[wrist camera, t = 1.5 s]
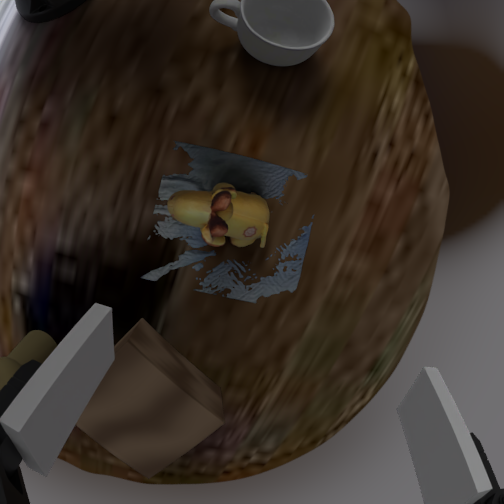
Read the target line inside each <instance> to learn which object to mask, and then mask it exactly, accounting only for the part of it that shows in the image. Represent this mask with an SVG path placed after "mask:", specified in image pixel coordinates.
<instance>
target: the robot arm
mask: <svg viewBox="0 0 504 504" xmlns="http://www.w3.org/2000/svg"><path fill="white" fill-rule="evenodd" d="M84 1H85V0H15V2H16V7H17V10H18V12H19V13H20V14H21V15H22V17H23V18H24V19H25V20H27V21H29V22H35V23H38V22H45V21H49V20H52V19H55V18H58V17H60V16H62V15H64V14H66V13H68V12H70V11H71V10H73V9H75V8H76V7H78V6H79V5H80V4H82V3H83V2H84ZM114 359H115V355H114V341H113V324H112V308H110V307H107V306H104V305H101V304H97V303H95V304H94V305H93V306H92V307H91V308H90V309H89V311H88V312H87V313H86V314H85V315H84V316H83V317H82V318H81V319H80V321H79V322H78V323H77V324H76V325H75V326H74V327H73V329H72V330H71V331H70V332H69V333H68V334H67V335H66V337H65V338H64V339H63V340H62V341H61V342H60V344H59V345H58V346H57V347H56V348H55V349H54V351H53V352H52V353H51V354H50V355H49V357H48V358H47V359H46V360H45V361H44V363H43V364H42V363H40V362H38V361H36V360H33V359H32V360H31V361H29V362H27V363H25V364H23V365H22V366H21V367H20V368H19V369H18V370H17V371H16V372H15V374H14V375H13V377H11V378H10V380H9V381H8V382H7V385H5V386H4V387H3V388H2V389H1V390H0V504H30V502H29V499H28V495H27V492H26V488H25V484H24V481H23V477H22V473H21V469H20V467H19V464H20V463H21V461H22V459H23V460H24V462H25V463H26V465H27V466H28V467H29V468H31V469H33V470H34V471H36V472H38V473H40V474H41V475H43V476H45V477H47V475H48V473H49V471H50V469H51V468H52V466H53V464H54V462H55V460H56V458H57V456H58V455H59V453H60V451H61V449H62V447H63V446H64V444H65V442H66V440H67V438H68V437H69V435H70V433H71V431H72V430H73V428H74V426H75V424H76V423H77V421H78V419H79V417H80V416H81V414H82V412H83V411H84V409H85V407H86V405H87V404H88V402H89V400H90V399H91V397H92V395H93V394H94V392H95V390H96V389H97V387H98V385H99V384H100V382H101V380H102V379H103V377H104V376H105V374H106V372H107V371H108V369H109V367H110V366H111V364H112V363H113V361H114ZM397 412H398V415H399V418H400V421H401V424H402V427H403V431H404V434H405V437H406V440H407V444H408V447H409V450H410V454H411V457H412V461H413V464H414V467H415V471H416V475H417V478H418V482H419V486H420V489H421V493H422V497H423V501H424V504H504V489H500V487H499V485H498V483H497V480H496V477H495V475H494V473H493V470H492V468H491V465H490V463H489V461H487V456H486V454H485V453H484V449H483V447H482V445H481V443H480V441H479V440H478V439H477V437H476V436H475V435H474V434H473V433H469V431H468V429H467V427H466V424H465V422H464V420H463V418H462V416H461V414H460V412H459V410H458V408H457V406H456V404H455V402H454V400H453V398H452V396H451V394H450V392H449V390H448V388H447V386H446V384H445V382H444V380H443V378H442V376H441V375H440V373H439V371H438V369H437V368H433V367H423V369H422V371H421V372H420V374H419V376H418V377H417V379H416V380H415V382H414V384H413V385H412V387H411V388H410V390H409V391H408V393H407V394H406V396H405V397H404V399H403V400H402V402H401V403H400V405H399V406H398V408H397Z"/></svg>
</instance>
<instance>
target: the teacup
mask: <svg viewBox="0 0 504 504" xmlns="http://www.w3.org/2000/svg"><path fill="white" fill-rule="evenodd" d="M220 8H228V9H231V10H233V11H234V12H235V14H236V16H237V17H238V19H236V18H234V17H231V16H228V15H226V14H224V13H223V12H221V11H220V10H219V9H220ZM209 12H210V15H211V17H212V18H213V19H214V20H216V21H217V22H219V23H221V24H224V25H226V26H229V27H231V28H232V29H233V30H235V31H238V36H239V40H240V42H241V44H242V46H243V47H244V49H245V50H246V51H247V52H248V53H249V54H250V55H252V56H253V57H254V58H256V59H257V60H259V61H261V62H264V63H266V64H270V65H274V66H291V65H295V64H299V63H301V62H303V61H305V60H306V59H308V58H309V57H311V56H312V55H313V54H314V53H315V52H316V51H317V50H318V48H319V47H320V46H321V45H322V44H323V43H324V42H325V41H326V40H327V39H328V38H329V37H330V35H331V34H332V31H333V28H334V16H333V12H332V10H331V8H330V6H329V4H328V3H327V2H326V0H241V2H239V1H237V0H214V1H213V2H212V4H211V5H210V10H209Z"/></svg>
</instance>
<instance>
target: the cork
mask: <svg viewBox="0 0 504 504" xmlns="http://www.w3.org/2000/svg"><path fill="white" fill-rule="evenodd" d="M56 347H57V344H56V342H55V341H54V340H53V339H52V337H51V336H49V335H48V334H47V333H45V332H43V331H40V330H33V331H31V332H29V333H28V334H27V335H26V336H25V337H24V339H23V340H22V341H21V342H20V343H19V344H18V345H17V346H16V347H15V348H14V349H13V351H12V352H11V353H10V354H9V355H8V356H7V357H0V390H1V389H2V388H3V387H4V386H5V385H7V382H8V381H9V380H10V378H11V377H13V375H14V374H15V372H16V371H17V370H18V369H19V368H20V367H21V366H22V365H23V364H25V363H27V362H29V361H31V360H32V359H33V360H36V361H38V362H40V363H42V364H43V363H44V361H45V360H46V359H47V358H48V357H49V355H50V354H51V353H52V352H53V351H54V349H55V348H56Z"/></svg>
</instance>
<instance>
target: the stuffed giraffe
mask: <svg viewBox="0 0 504 504" xmlns="http://www.w3.org/2000/svg"><path fill="white" fill-rule="evenodd" d="M174 142H175V144H176V147H175V148H173V149H174V150H177V149H178V148H179V146H181V147H182V148H183V149H184V151H186V152H188V154H189V156H190V158H194V160H193V161H192V162H191V163H189V164H188V165H189V166H190V167H192V168H193V170H192V171H191V172H189V175H186V174H179V175H177V174H173V175H169V176H165V175H163V177H162V180H161V185H160V189H159V197H161V198H163V199H161V198H160V199H161V200H162V201H163V200H168V203H167V205H165V206H164V207H163V206H162V205H155V209H154V213H153V215H154V214H156V213H160V214H161V215H162V214H166V215H168V216H170V215H172V216H173V217H174V218H175V219H176V221H174V220H172V217H169V218H167V217H165V218H166V219H165V222H164V221H163V222H162V221H158V224H159V226H160V228H161V229H160V228H159V227H158V226H157V225H155V227H156V229H157V230H158V232H159V233H158V234H161V236H163V237H164V238H167V237H169V238H170V239H171V240H172V239H173V238H177V237H180V236H183V238H181V239H180V240H183V239H185V240H186V242H188V245H191V247H193V248H199V247H200V246H201V247H203V246H206V245H207V244H208V245H211V246H214V247H219V246H222V245H224V244H225V237H224V236H229V242H230V243H231V244H232V245H234V246H237V247H245V246H247V245H250V244H252V243H253V242H254V241H255V240H256V239H257V238H261V243H260V247H261V248H263V247H265V243H266V235H267V232H268V227H269V225H268V223H269V217H270V213H269V208H268V206H267V203H266V201H265V200H264V199H263V198H265V199H268V198H273V197H275V196H278V195H279V196H278V197H276V198H275V199H279V198H280V197H281V196H283V195H284V194H282V192H281V191H283V190H284V188H283V185H284V184H285V182H286V181H285V179H286V180H287V181H288V176H292V175H293V174H294V175H295V176H296V177H297V180H300V179H301V178H306V177H307V175H304V173H301V172H298V171H295V170H291V169H288V168H285V167H281V166H278V165H274V164H271V163H267V162H264V161H260V160H257V159H253V158H249V157H245V156H241V155H237V154H233V153H229V152H224V151H220V150H216V149H211V148H207V147H202V146H197V145H192V144H187V143H182V142H177V141H174ZM251 192H254V193H256V194H257V195H256V194H251ZM259 195H261V196H259ZM157 200H158V199H157ZM279 201H280V200H279ZM280 202H281V201H280ZM280 202H279V203H280ZM284 202H285V201H284ZM287 204H288V203H287ZM281 205H282V204H281ZM157 206H159V207H157ZM157 216H158V215H157ZM313 217H314V215H313V216H312V218H313ZM168 219H169V220H170V221H168ZM177 220H178V221H177ZM162 223H163V224H162ZM311 226H312V222H311V224H310V225H309V226H308V227H307V226H303V227H302V229H303V230H304V231H305V233H303V234H301V237H299V236H298V237H297V238H298V240H296V241H295V240H294V239H291V240H294V241H291V242H290V244H289V246H287V245H286V244H285V243H284V244H285V246H286V247H287V248H286V249H284V248H283V247H282V246H280V247H282V248H281V249H282V250H283V253H282V252H281V254H282V256H281V258H282V259H285V256H286V257H288V254H289V253H290V256H291V257H292V258H293V256H294V255H296V254H297V253H298V256H297V257H296V258H297V259H299V258H302V259H301V260H296V261H293V260H291V261H287V262H284V263H281V262H279V265H278V266H276V268H277V269H278V270H279V272H280V273H279V272H277V271H276V273H274V276H273V277H271V276H267V277H266V278H264V277H261V278H260V279H261V281H260V282H259V283H256V284H253V283H252V284H251V285H249V286H246V289H245V285H243V283H242V282H240V281H237V278H236V277H235V276H234V274H233V272H231V274H230V275H231V277H230V276H229V274H228V271H230V269H232V267H234V269H233V270H237V271H238V272H237V273H239V277H240V278H243V275H241V273H240V270H239V269H238V268H237V266H236V265H235V264H237V265H238V266H239V267H240V268H241V270H242V271H244V272H246V270H245V268H244V267H243V266H241V264H239V263H237V261H236V260H234V259H233V260H234V262H235V264H233V263H232V261H230V260H229V259H228V260H227V262H228V263H229V264H227V263H226V264H225V265H224V262H222V263H220V264H219V265H218V266H216V267H215V268H213V269H212V270H213V272H212V273H210V274H209V275H208V276H207V277H206V278H205V279H204V282H200V283H199V284H200V285H203V290H199V289H194V290H196V291H200V292H205V293H210V294H212V293H214V292H215V291H218V290H222V291H223V290H224V289H225V288H229V289H231V290H232V291H231V293H230V294H229V293H228V294H227V297H228V298H233V299H238V300H243V301H248V302H253V303H256V300H257V299H258V298H259V297H260V296H262V295H263V296H264V297H269V296H270V295H272V294H279V293H280V291H286V290H289V291H290V292H291V293H292V292H293V290H296V287H297V284H298V281H299V278H300V274H301V270H302V264H303V259H304V256H305V252H306V248H307V244H308V241H309V235H310V230H311ZM299 230H300V229H299ZM155 231H156V230H154V232H155ZM156 235H157V233H156ZM159 236H160V235H159ZM187 236H189V238H188V239H186V237H187ZM190 236H192V237H193V238H192V237H190ZM148 239H150V236H149V238H148ZM189 248H190V247H189ZM276 249H277V250H279V251H280V249H278V248H276ZM214 251H215V250H213V251H211V252H206V251H199V250H190V251H185V254H182V255H180V256H179V261H175V262H174V265H173V263H169V264H168V265H166V266H165V267H161V268H159V269H156V270H152V271H150V273H147V274H146V275H144V276H142V277H141V278H144V279H147V280H152V281H156V280H158V278H160V277H161V276H162V275H164V274H166V273H168V272H169V270H170V269H177V268H178V267H183V266H186V265H189V264H191V263H193V262H198V261H201V260H204V258H205V257H208V256H211V255H212V256H215V255H216V253H214ZM275 255H276V254H275ZM284 255H285V256H284ZM303 255H304V256H303ZM270 256H272V255H270ZM267 259H268V258H267ZM267 259H266V260H267ZM278 260H279V261H280V259H278ZM204 261H205V260H204ZM285 261H286V260H285ZM248 262H249V261H248ZM242 263H244V262H243V261H242ZM300 263H301V265H298V264H300ZM244 264H245V263H244ZM170 265H173V266H170ZM169 266H170V267H169ZM245 266H247V265H245ZM284 266H288V267H287V269H286V270H287V271H286V272H283V268H284ZM192 268H193V269H194V268H195V270H196V271H199V270H200V269H201V268H203V264H202V263H198V264H197V265H194V266H193V267H192ZM292 268H293V269H294V270H296V269H297V271H296V272H294V271H292V270H291V269H292ZM216 269H217V270H216ZM248 270H249V271H250V269H248ZM273 270H274V268H273ZM209 272H211V270H209V271H208V272H206V273H209ZM235 273H236V271H235ZM276 274H277V276H276ZM219 275H220V277H219ZM253 275H256V274H253ZM208 278H210V279H209V280H208ZM249 278H251V276H247V277H246V279H249ZM255 278H257V277H255ZM197 279H198V278H196V280H197ZM233 279H234V280H236V281H237V283H238V284H239V285H236V284H235V283H234V282H233V281H232V280H233ZM246 279H245V280H244V281H246ZM200 280H201V278H200ZM252 280H253V279H252ZM210 284H212V288H214V287H216V286H217V285H218V284H219V285H218V287H217V289H216V290H215V289H214V290H211V287H208V288H205V287H206V286H209V285H210ZM223 286H224V288H222V289H221V287H223ZM233 286H234V287H235V288H233ZM249 287H251V288H253V289H252V290H250V291H248V289H249ZM204 288H205V289H204ZM209 290H210V291H209ZM207 291H209V292H207ZM245 291H246V293H245ZM220 292H221V291H220ZM220 292H218V293H220ZM214 295H217V293H216V294H214ZM223 295H224V294H223ZM223 295H222V296H223ZM224 297H225V296H224Z"/></svg>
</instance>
